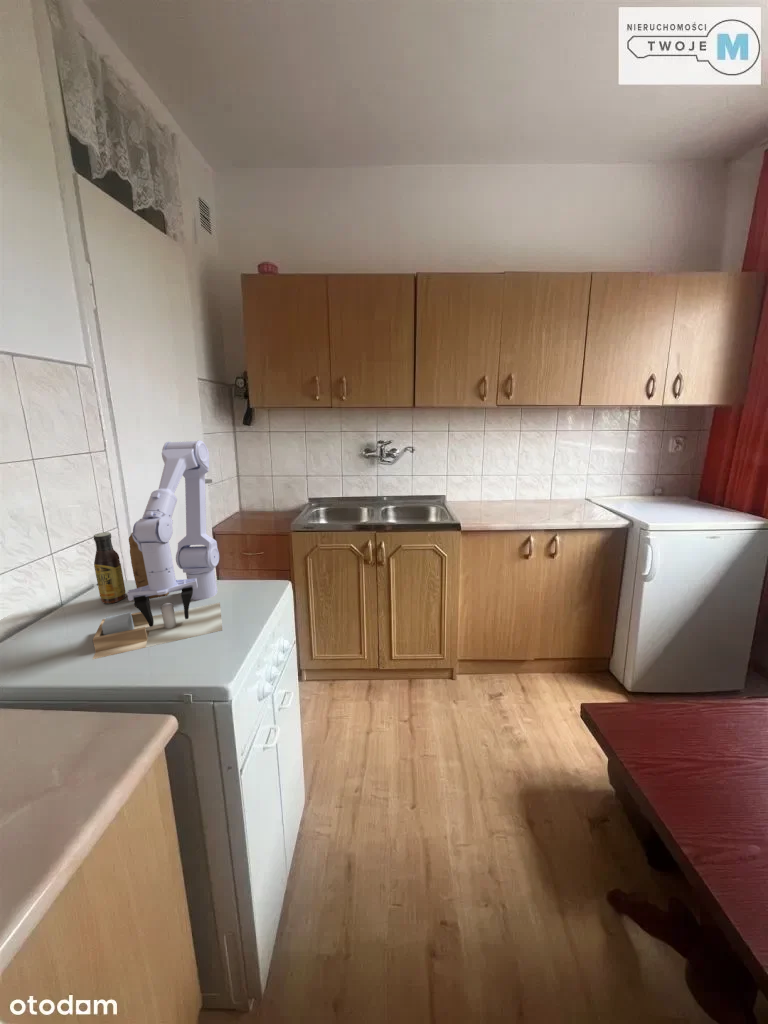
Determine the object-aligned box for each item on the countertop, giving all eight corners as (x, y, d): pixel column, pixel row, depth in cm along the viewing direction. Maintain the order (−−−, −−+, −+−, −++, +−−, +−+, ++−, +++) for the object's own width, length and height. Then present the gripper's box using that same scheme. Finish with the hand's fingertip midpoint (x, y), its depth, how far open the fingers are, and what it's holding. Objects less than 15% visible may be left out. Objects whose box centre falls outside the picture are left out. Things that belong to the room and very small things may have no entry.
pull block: (110, 634, 99) (105, 612, 98) (177, 620, 104) (173, 599, 103) (105, 644, 95) (100, 622, 93) (175, 629, 100) (172, 608, 99)
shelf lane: (108, 630, 104) (105, 613, 103) (220, 607, 114) (218, 592, 112) (93, 665, 90) (89, 646, 89) (223, 635, 99) (220, 618, 98)
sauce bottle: (96, 603, 119) (80, 536, 114) (115, 594, 125) (101, 530, 120) (114, 605, 117) (98, 538, 113) (132, 596, 123) (119, 531, 118)
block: (166, 600, 119) (153, 533, 114) (137, 604, 118) (122, 536, 113) (174, 585, 129) (163, 522, 124) (148, 589, 128) (135, 525, 123)
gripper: (120, 580, 92) (132, 635, 95) (193, 568, 97) (202, 621, 100) (126, 569, 98) (137, 621, 102) (193, 558, 103) (202, 608, 107)
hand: (169, 620), depth 101 cm, fingers open, 7 cm apart
